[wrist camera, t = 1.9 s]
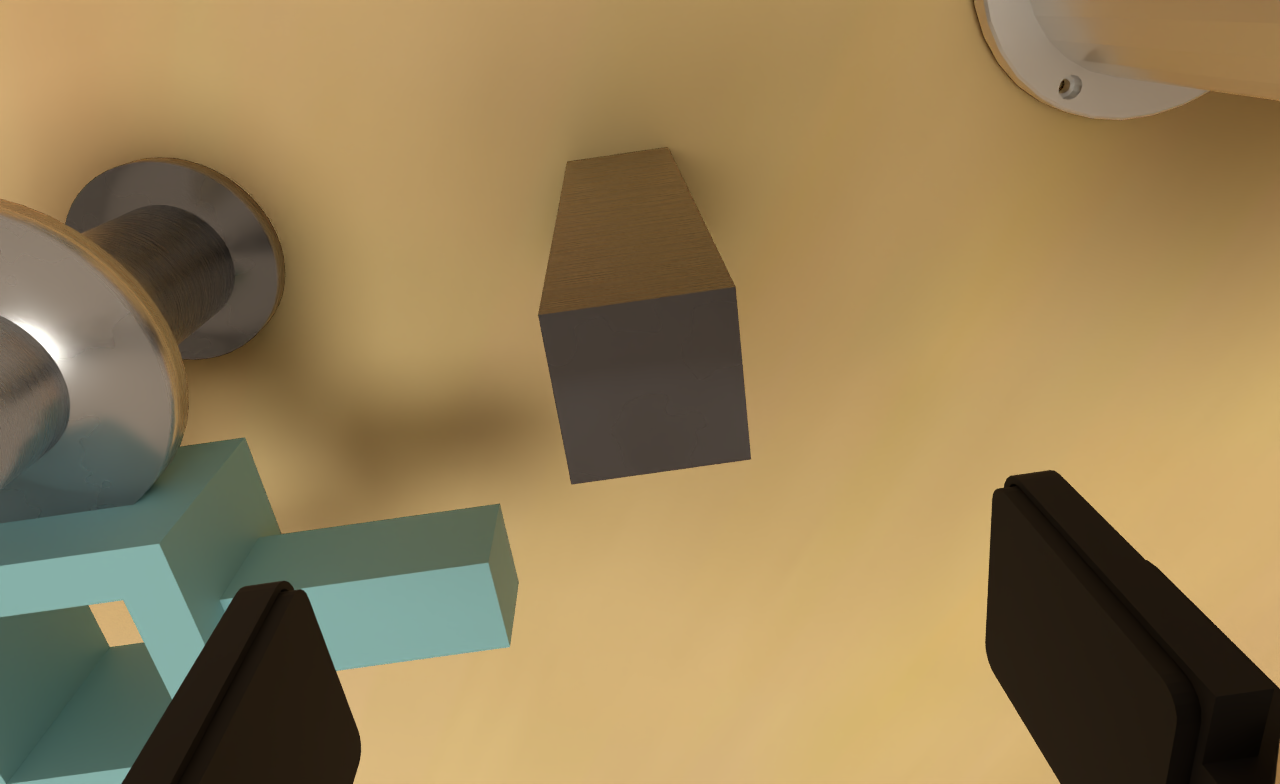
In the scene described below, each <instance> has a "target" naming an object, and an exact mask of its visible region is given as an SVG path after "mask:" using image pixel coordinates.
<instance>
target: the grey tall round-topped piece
mask: <svg viewBox="0 0 1280 784" xmlns="http://www.w3.org/2000/svg"><path fill="white" fill-rule="evenodd" d="M284 283H285V266H284V257H283V253H282V249H281V245H280V242H279V240H278V237H277V235H276V232H275V230H274V229H273V227H272V225H271V223H270V221H269V219H268V218H267V217H266V215H265V214H264V212H263V211H262V209H261V208H260V207H259V206H258V205H257V203H256V202H255V201H254V200H253V199H252V198H251V197H250V196H249V195H248V194H247V193H246V192H245V191H244V190H243V189H241V188H240V187H239V186H238V185H236V184H235V183H234V182H232V181H231V180H229V179H228V178H226V177H225V176H223V175H221V174H219V173H218V172H216V171H214V170H212V169H209V168H207V167H205V166H202V165H199V164H196V163H193V162H190V161H186V160H180V159H175V158H146V159H141V160H137V161H132V162H130V163H127V164H124V165H121V166H118V167H115V168H113V169H110V170H108V171H106V172H104V173H102V174H100V175H99V176H97V177H95V178H94V179H93V180H92V181H91V182H89V183H88V184H87V185H86V186H85V187H84V188H83V189H82V190H81V192H80V193H79V194H78V195H77V197H76V199H75V200H74V202H73V203H72V205H71V208H70V210H69V213H68V215H67V219H66V224H63V223H61V222H60V221H58V220H56V219H54V218H52V217H50V216H48V215H45V214H43V213H41V212H38V211H36V210H33V209H31V208H28V207H26V206H23V205H20V204H17V203H13V202H10V201H6V200H3V199H0V523H7V522H14V521H21V520H28V519H35V518H42V517H49V516H56V515H64V514H71V513H78V512H85V511H92V510H99V509H106V508H113V507H120V506H128V505H134V504H135V503H136V502H137V501H138V500H139V499H140V498H141V497H142V496H143V495H144V494H145V493H146V492H147V491H148V489H149V488H150V487H151V486H152V485H153V484H154V483H155V482H156V481H157V480H158V479H159V478H160V476H161V475H162V474H163V473H164V471H165V470H166V469H167V467H168V466H169V465H170V463H171V462H172V460H173V459H174V457H175V455H176V453H177V451H178V449H179V447H180V445H181V442H182V438H183V435H184V432H185V428H186V424H187V416H188V409H189V400H188V383H187V378H186V372H185V366H184V363H183V360H182V359H194V360H195V359H207V358H212V357H217V356H221V355H223V354H226V353H229V352H232V351H233V350H235V349H237V348H239V347H241V346H243V345H244V344H245V343H247V342H248V341H249V340H251V339H252V338H253V337H254V336H255V335H256V334H257V333H258V332H259V331H260V330H261V329H262V328H263V327H264V326H265V325H266V324H267V323H268V322H269V320H270V319H271V317H272V316H273V315H274V313H275V311H276V309H277V307H278V305H279V303H280V300H281V297H282V294H283V289H284Z"/></svg>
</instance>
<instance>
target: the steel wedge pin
mask: <svg viewBox="0 0 1280 784" xmlns="http://www.w3.org/2000/svg"><path fill="white" fill-rule="evenodd" d="M538 316H539V321H540V327H541V332H542V337H543V342H544V347H545V352H546V357H547V362H548V367H549V372H550V378H551V383H552V388H553V393H554V398H555V403H556V408H557V413H558V418H559V423H560V428H561V434H562V439H563V444H564V449H565V454H566V459H567V464H568V469H569V474H570V479H571V484H578V483H585V482H592V481H599V480H606V479H614V478H621V477H628V476H635V475H642V474H649V473H657V472H664V471H671V470H678V469H685V468H692V467H699V466H707V465H714V464H721V463H728V462H735V461H742V460H750V459H751V454H750V443H749V432H748V421H747V410H746V399H745V388H744V377H743V365H742V354H741V343H740V332H739V321H738V310H737V299H736V288H735V285H734V283H733V281H732V279H731V277H730V275H729V273H728V271H727V268H726V266H725V264H724V262H723V260H722V258H721V256H720V254H719V252H718V250H717V248H716V246H715V244H714V242H713V240H712V237H711V235H710V233H709V231H708V229H707V227H706V225H705V223H704V221H703V219H702V217H701V215H700V213H699V211H698V209H697V206H696V204H695V202H694V200H693V198H692V196H691V194H690V192H689V190H688V188H687V186H686V184H685V182H684V180H683V178H682V175H681V173H680V171H679V169H678V167H677V165H676V163H675V161H674V159H673V157H672V155H671V153H670V151H669V149H668V147H665V148H658V149H651V150H645V151H638V152H631V153H624V154H617V155H610V156H603V157H597V158H590V159H583V160H576V161H569V162H567V166H566V171H565V176H564V182H563V187H562V192H561V198H560V203H559V208H558V213H557V219H556V224H555V229H554V235H553V240H552V245H551V250H550V256H549V261H548V266H547V272H546V277H545V282H544V287H543V293H542V298H541V303H540V308H539V314H538Z"/></svg>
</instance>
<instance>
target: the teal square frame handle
mask: <svg viewBox="0 0 1280 784" xmlns="http://www.w3.org/2000/svg"><path fill="white" fill-rule="evenodd" d="M277 581H287V582H289V583H290V584H291V585H292V586H293V588H294V590H297V589H302V590H304V591H305V592H306V593H307V596H308V598H309V600H310V603H311V605H312V608H313V611H314V613H315V616H316V619H317V621H318V624H319V627H320V630H321V632H322V635H323V638H324V640H325V643H326V646H327V648H328V651H329V654H330V656H331V659H332V662H333V664H334V667H335V670H336V671H338V670H346V669H353V668H360V667H367V666H375V665H382V664H389V663H397V662H404V661H411V660H418V659H426V658H433V657H440V656H448V655H455V654H462V653H469V652H477V651H484V650H491V649H499V648H506V647H510V643H511V635H512V628H513V620H514V613H515V606H516V598H517V591H518V584H519V582H518V578H517V573H516V569H515V565H514V561H513V557H512V553H511V548H510V544H509V540H508V536H507V532H506V528H505V524H504V519H503V515H502V511H501V507H500V504H495V505H487V506H480V507H473V508H466V509H459V510H452V511H444V512H437V513H430V514H423V515H416V516H409V517H402V518H394V519H387V520H380V521H373V522H366V523H359V524H351V525H344V526H337V527H330V528H323V529H316V530H309V531H301V532H294V533H287V534H281V532H280V529H279V526H278V524H277V521H276V518H275V516H274V513H273V510H272V508H271V505H270V503H269V500H268V497H267V495H266V492H265V489H264V487H263V484H262V481H261V479H260V476H259V473H258V471H257V468H256V465H255V463H254V460H253V457H252V455H251V452H250V449H249V447H248V444H247V441H246V439H245V438H238V439H231V440H224V441H217V442H210V443H203V444H196V445H189V446H182V447H179V449H178V451H177V453H176V455H175V457H174V459H173V460H172V462H171V463H170V465H169V466H168V467H167V469H166V470H165V471H164V473H163V474H162V475H161V476H160V478H159V479H158V480H157V481H156V482H155V483H154V484H153V485H152V486H151V487H150V488H149V489H148V491H147V492H146V493H145V494H144V495H143V496H142V497H141V498H140V499H139V500H138V501H137V502H136V503H135V504H134V505H128V506H120V507H113V508H106V509H99V510H92V511H85V512H78V513H71V514H64V515H56V516H49V517H42V518H35V519H28V520H21V521H14V522H7V523H0V784H122V782H123V780H124V779H125V777H126V775H127V774H128V772H129V770H130V769H131V767H132V765H133V764H134V762H135V760H136V759H137V757H138V755H139V754H140V752H141V750H142V749H143V747H144V745H145V744H146V742H147V740H148V739H149V737H150V735H151V734H152V732H153V730H154V729H155V727H156V725H157V724H158V722H159V720H160V719H161V717H162V715H163V714H164V712H165V711H166V709H167V707H168V706H169V704H170V702H171V701H172V699H173V697H174V696H175V694H176V692H177V691H178V689H179V687H180V686H181V684H182V682H183V681H184V679H185V677H186V676H187V674H188V672H189V671H190V669H191V667H192V666H193V664H194V662H195V661H196V659H197V657H198V656H199V654H200V652H201V651H202V649H203V647H204V646H205V644H206V642H207V641H208V639H209V637H210V636H211V634H212V632H213V631H214V629H215V628H216V626H217V624H218V623H219V621H220V619H221V618H222V616H223V614H224V613H225V611H226V609H227V608H228V606H229V604H230V603H231V601H232V599H233V598H234V596H235V594H236V593H237V592H238V590H239V589H240V588H242V587H244V586H250V585H257V584H264V583H270V582H277ZM120 600H124V603H125V605H126V607H127V609H128V611H129V613H130V615H131V617H132V619H133V621H134V623H135V625H136V627H137V629H138V631H139V633H140V635H141V637H142V639H143V641H144V643H137V644H130V645H123V646H115V647H109V645H108V643H107V641H106V639H105V637H104V635H103V633H102V631H101V629H100V627H99V625H98V623H97V621H96V619H95V618H94V616H93V614H92V612H91V610H90V608H89V606H88V605H92V604H99V603H106V602H113V601H120Z"/></svg>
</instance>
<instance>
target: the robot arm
mask: <svg viewBox="0 0 1280 784" xmlns="http://www.w3.org/2000/svg"><path fill="white" fill-rule="evenodd" d="M974 5H975V9H976V12H977V15H978V19H979V22H980V25H981V29H982V32H983V35H984V38H985V40H986V42H987V43H988V45H989V47H990V49H991V51H992V53H993V54H994V56H995V58H996V60H997V62H998V64H999V65H1000V66H1001V67H1002V68H1003V69H1004V71H1005V72H1006V73H1007V74H1008V75H1009V76H1010V77H1011V79H1012V80H1013V81H1014V82H1015V83H1016V84H1017V85H1018V86H1019V87H1020V88H1022V89H1023V90H1024V91H1026V92H1027V93H1029V94H1030V95H1031V96H1033V97H1034V98H1036V99H1037V100H1038V101H1040V102H1042V103H1044V104H1047V105H1049V106H1051V107H1054V108H1056V109H1059V110H1061V111H1064V112H1066V113H1070V114H1075V115H1080V116H1084V117H1088V118H1092V119H1110V120H1126V119H1133V118H1140V117H1147V116H1153V115H1156V114H1159V113H1162V112H1165V111H1168V110H1171V109H1174V108H1177V107H1180V106H1183V105H1185V104H1187V103H1189V102H1191V101H1193V100H1195V99H1197V98H1198V97H1200V96H1202V95H1204V94H1206V93H1208V92H1210V91H1215V92H1222V93H1229V94H1236V95H1242V96H1249V97H1256V98H1263V99H1270V100H1277V101H1280V0H974ZM1062 80H1064V87H1063V89H1062V90H1061V91H1059V86H1060V83H1061V82H1062ZM985 643H986V653H987V657H988V661H989V664H990V666H991V669H992V671H993V673H994V674H995V676H996V678H997V679H998V681H999V683H1000V684H1001V686H1002V688H1003V689H1004V691H1005V693H1006V694H1007V696H1008V698H1009V699H1010V701H1011V703H1012V704H1013V706H1014V707H1015V709H1016V711H1017V712H1018V714H1019V716H1020V717H1021V719H1022V721H1023V722H1024V724H1025V726H1026V727H1027V729H1028V731H1029V732H1030V734H1031V736H1032V737H1033V739H1034V740H1035V742H1036V744H1037V745H1038V747H1039V749H1040V750H1041V752H1042V754H1043V755H1044V757H1045V759H1046V760H1047V762H1048V764H1049V765H1050V767H1051V769H1052V770H1053V772H1054V773H1055V775H1056V777H1057V778H1058V780H1059V782H1060V783H1061V784H1280V689H1279V688H1278V687H1277V686H1276V685H1275V684H1274V683H1273V682H1272V681H1271V680H1270V679H1269V678H1268V677H1267V676H1266V675H1265V674H1264V673H1263V672H1262V671H1261V670H1260V669H1259V668H1258V667H1257V666H1256V665H1255V664H1254V663H1253V662H1252V661H1251V660H1250V659H1249V658H1248V657H1247V656H1246V655H1245V654H1244V653H1243V652H1242V651H1241V650H1240V649H1239V648H1238V647H1237V646H1236V645H1235V644H1234V643H1233V642H1232V641H1231V640H1230V639H1229V638H1228V637H1227V636H1226V635H1225V634H1224V633H1223V632H1222V631H1221V630H1220V629H1219V628H1218V627H1217V626H1216V625H1215V624H1214V623H1213V622H1212V621H1211V620H1210V619H1209V618H1208V617H1207V616H1206V615H1205V614H1204V613H1203V612H1202V611H1201V610H1200V609H1199V608H1198V607H1197V606H1196V605H1195V604H1194V603H1193V602H1192V601H1191V600H1189V599H1188V598H1187V597H1186V596H1185V595H1184V594H1183V593H1182V592H1181V591H1180V590H1179V589H1178V588H1177V587H1176V586H1175V585H1174V584H1173V583H1172V582H1171V581H1170V580H1169V579H1168V578H1167V577H1166V576H1165V575H1164V574H1163V573H1162V572H1161V571H1160V570H1159V569H1158V568H1157V567H1156V566H1154V565H1153V564H1152V563H1150V562H1149V561H1148V560H1145V559H1144V558H1143V557H1142V556H1141V555H1140V554H1139V553H1138V552H1137V551H1136V550H1135V549H1134V548H1133V547H1132V546H1131V545H1130V544H1129V543H1128V542H1127V541H1126V540H1125V539H1124V538H1123V537H1122V536H1121V535H1120V534H1119V533H1118V532H1117V531H1116V530H1115V529H1114V528H1113V527H1112V526H1111V525H1110V524H1109V523H1108V522H1107V521H1106V520H1105V519H1104V518H1103V517H1102V516H1101V515H1100V514H1099V513H1098V512H1097V511H1096V510H1095V509H1094V508H1093V507H1092V506H1091V505H1090V504H1089V503H1088V502H1087V501H1086V500H1085V499H1084V498H1083V497H1082V496H1081V495H1080V494H1079V493H1078V492H1077V491H1076V490H1075V489H1074V488H1073V487H1072V486H1071V485H1070V484H1069V483H1068V482H1067V481H1066V480H1065V479H1064V478H1063V477H1062V476H1061V475H1060V474H1058V473H1057V472H1056V471H1052V470H1048V471H1041V472H1034V473H1027V474H1020V475H1014V476H1010V477H1008V478H1007V480H1006V482H1005V484H1004V488H999V489H996V490H995V491H994V493H993V498H992V516H991V537H990V558H989V579H988V599H987V620H986V641H985ZM360 755H361V741H360V735H359V732H358V729H357V726H356V724H355V721H354V718H353V715H352V713H351V710H350V707H349V705H348V702H347V699H346V697H345V694H344V691H343V689H342V686H341V683H340V681H339V678H338V675H337V673H336V670H335V667H334V664H333V662H332V659H331V656H330V654H329V651H328V648H327V646H326V643H325V640H324V638H323V635H322V632H321V630H320V627H319V624H318V621H317V619H316V616H315V613H314V611H313V608H312V605H311V603H310V600H309V598H308V596H307V593H306V592H305V591H304V590H302V589H297V590H294V588H293V586H292V585H291V584H290V583H289V582H287V581H277V582H270V583H264V584H257V585H250V586H244V587H242V588H240V589H239V590H238V592H237V593H236V594H235V596H234V598H233V599H232V601H231V603H230V604H229V606H228V608H227V609H226V611H225V613H224V614H223V616H222V618H221V619H220V621H219V623H218V624H217V626H216V628H215V629H214V631H213V632H212V634H211V636H210V637H209V639H208V641H207V642H206V644H205V646H204V647H203V649H202V651H201V652H200V654H199V656H198V657H197V659H196V661H195V662H194V664H193V666H192V667H191V669H190V671H189V672H188V674H187V676H186V677H185V679H184V681H183V682H182V684H181V686H180V687H179V689H178V691H177V692H176V694H175V696H174V697H173V699H172V701H171V702H170V704H169V706H168V707H167V709H166V711H165V712H164V714H163V715H162V717H161V719H160V720H159V722H158V724H157V725H156V727H155V729H154V730H153V732H152V734H151V735H150V737H149V739H148V740H147V742H146V744H145V745H144V747H143V749H142V750H141V752H140V754H139V755H138V757H137V759H136V760H135V762H134V764H133V765H132V767H131V769H130V770H129V772H128V774H127V775H126V777H125V779H124V780H123V782H122V784H353V782H354V778H355V775H356V772H357V768H358V765H359V761H360Z"/></svg>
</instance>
